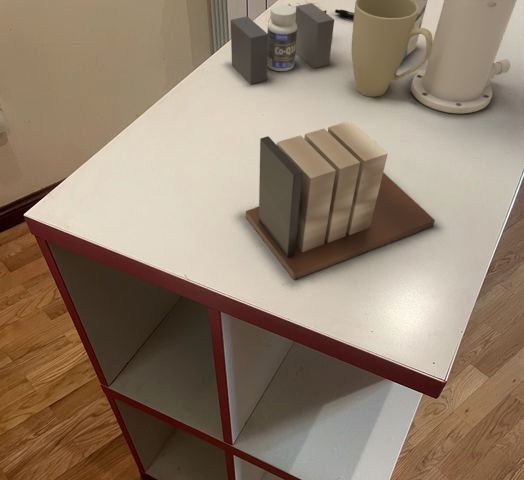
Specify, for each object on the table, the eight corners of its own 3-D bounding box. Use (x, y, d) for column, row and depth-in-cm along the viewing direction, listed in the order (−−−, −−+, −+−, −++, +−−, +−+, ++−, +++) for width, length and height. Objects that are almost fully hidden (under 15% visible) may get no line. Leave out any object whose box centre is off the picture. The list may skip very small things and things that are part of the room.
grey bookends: (307, 47, 91) (311, 2, 85) (329, 64, 87) (334, 19, 82) (231, 65, 86) (230, 19, 81) (250, 84, 83) (250, 37, 77)
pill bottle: (274, 74, 85) (276, 18, 78) (262, 61, 87) (263, 6, 81) (299, 68, 86) (303, 13, 79) (286, 56, 89) (289, 1, 82)
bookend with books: (376, 173, 70) (397, 85, 60) (432, 226, 64) (465, 137, 54) (245, 217, 64) (244, 127, 54) (293, 280, 58) (302, 191, 48)
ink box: (395, 67, 87) (419, -37, 75) (370, 58, 89) (388, -45, 77) (416, 48, 91) (441, -53, 79) (391, 40, 93) (412, -60, 81)
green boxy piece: (298, 45, 91) (300, 14, 87) (286, 34, 94) (288, 3, 90) (323, 41, 92) (326, 10, 88) (311, 29, 95) (313, -1, 91)
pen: (332, 16, 98) (333, 9, 97) (336, 13, 99) (337, 6, 98) (400, 34, 94) (402, 27, 93) (404, 31, 95) (405, 24, 94)
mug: (348, 107, 79) (362, 22, 70) (338, 75, 85) (350, -8, 75) (418, 106, 80) (441, 21, 70) (403, 74, 86) (423, -8, 76)
